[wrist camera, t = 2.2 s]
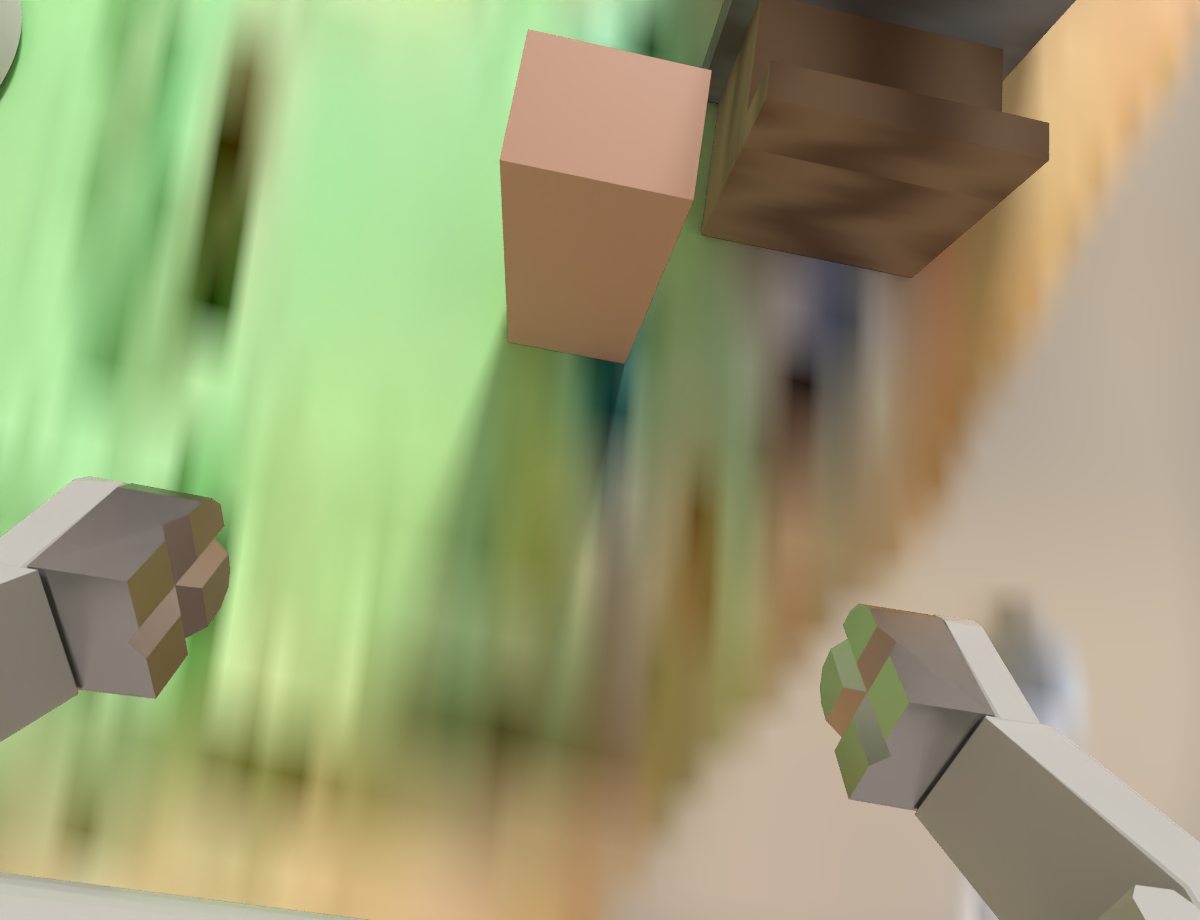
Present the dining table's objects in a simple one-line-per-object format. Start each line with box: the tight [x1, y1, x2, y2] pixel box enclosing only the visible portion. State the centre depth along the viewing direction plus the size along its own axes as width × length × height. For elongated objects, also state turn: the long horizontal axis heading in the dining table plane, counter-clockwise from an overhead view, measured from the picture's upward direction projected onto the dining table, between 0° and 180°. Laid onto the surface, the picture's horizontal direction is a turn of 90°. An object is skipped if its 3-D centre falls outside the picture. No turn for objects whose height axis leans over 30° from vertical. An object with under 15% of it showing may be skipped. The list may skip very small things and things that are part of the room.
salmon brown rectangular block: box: [500, 29, 712, 364], centre depth 24 cm, size 5×4×12 cm
